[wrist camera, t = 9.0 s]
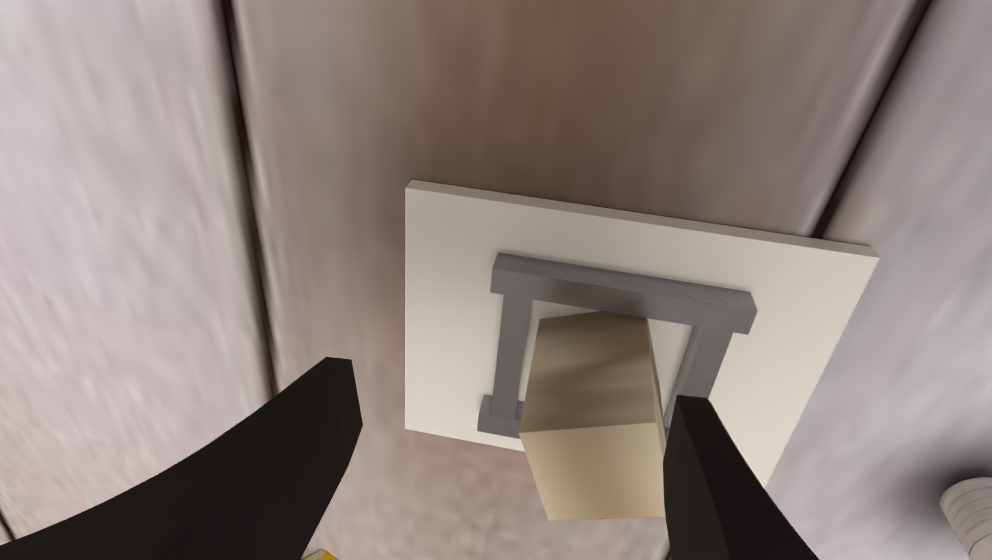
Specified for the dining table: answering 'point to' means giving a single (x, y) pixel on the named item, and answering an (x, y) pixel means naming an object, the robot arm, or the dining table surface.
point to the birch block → (595, 418)
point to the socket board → (616, 309)
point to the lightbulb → (971, 515)
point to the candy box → (320, 556)
